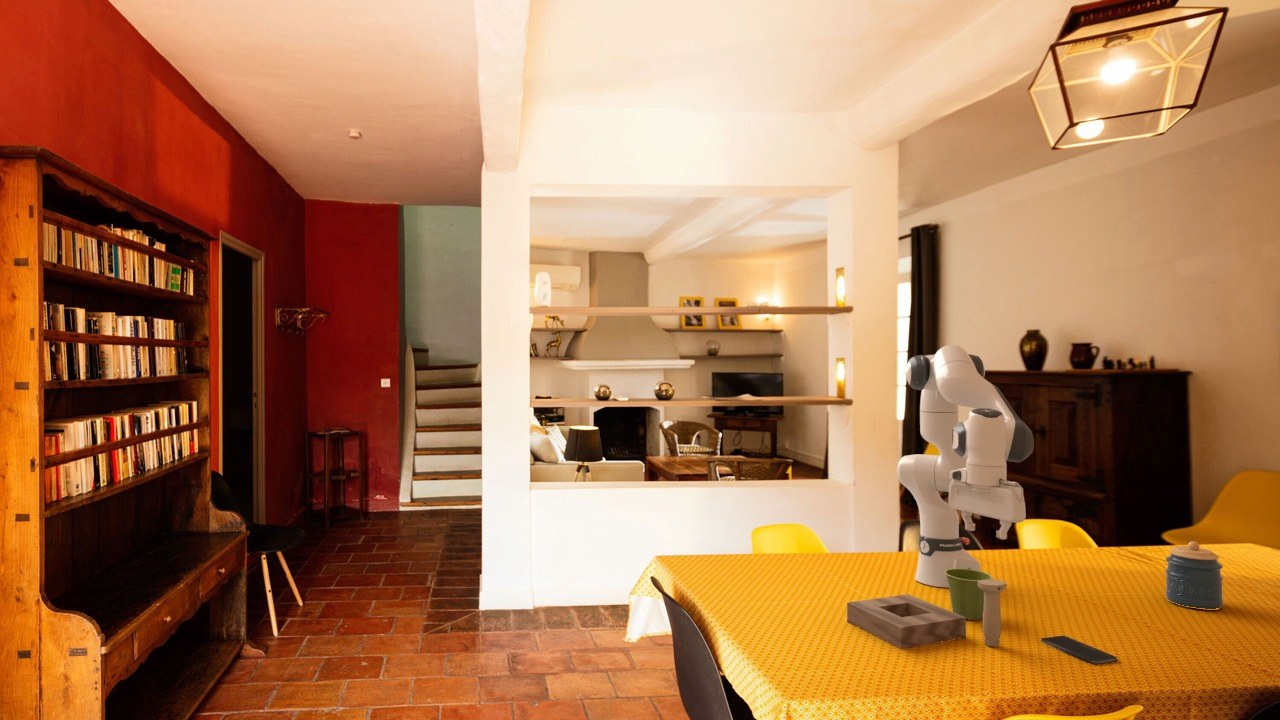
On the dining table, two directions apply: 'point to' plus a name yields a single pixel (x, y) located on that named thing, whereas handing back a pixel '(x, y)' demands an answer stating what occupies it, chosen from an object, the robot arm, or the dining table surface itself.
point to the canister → (1194, 577)
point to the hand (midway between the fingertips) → (985, 534)
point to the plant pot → (966, 592)
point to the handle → (992, 610)
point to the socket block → (906, 620)
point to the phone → (1079, 650)
